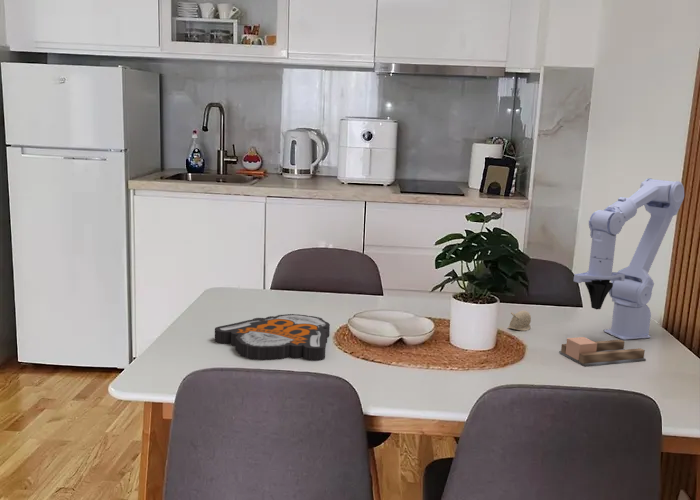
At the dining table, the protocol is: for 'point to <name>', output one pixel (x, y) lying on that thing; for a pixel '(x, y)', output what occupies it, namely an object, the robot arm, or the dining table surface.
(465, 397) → the dining table surface
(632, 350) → the walnut chute
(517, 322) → the decorative ornament
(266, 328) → the decorative emblem
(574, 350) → the block
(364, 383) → the dining table surface
